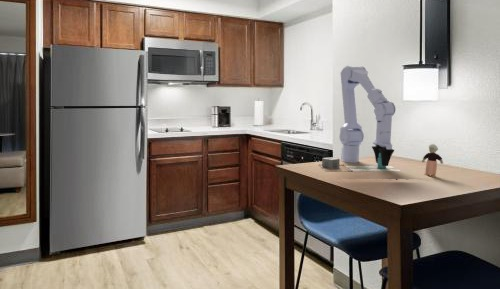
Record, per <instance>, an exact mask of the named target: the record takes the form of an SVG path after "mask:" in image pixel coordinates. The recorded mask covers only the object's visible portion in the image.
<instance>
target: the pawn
mask: <svg viewBox="0 0 500 289" xmlns="http://www.w3.org/2000/svg"><path fill="white" fill-rule="evenodd" d="M376 166H377V168H378V169H386V166H382V159H381V153H379V157H378V163H377V165H376Z"/></svg>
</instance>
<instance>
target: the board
mask: <svg viewBox="0 0 500 289" xmlns="http://www.w3.org/2000/svg"><path fill="white" fill-rule="evenodd" d="M318 166H319V167H320V168H321V169H323V170H324V171H325V172H341V169H340V170H334V169H333V170H332V169H331V170H327V168H325V167H322V164H318ZM341 166H345V167H346V168H347V169H349V171H351V172H356V171H357V172H371V171H372V172H401V170H400V169H399V168H396V167H394V166H392V165H388V166H386V169H378V168H377V165H345V164H339V167H341Z"/></svg>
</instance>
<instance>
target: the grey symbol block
mask: <svg viewBox="0 0 500 289" xmlns="http://www.w3.org/2000/svg"><path fill="white" fill-rule="evenodd" d="M340 161H341V160H340V158H338V157H337V158H336V157H332V156H331V157H322V160H321V166H322V167H323V168H325V169H331V170H332V169H337V168H338V169H339V168H340V166H339V165H340Z"/></svg>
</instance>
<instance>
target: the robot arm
mask: <svg viewBox="0 0 500 289" xmlns="http://www.w3.org/2000/svg"><path fill="white" fill-rule="evenodd" d="M368 74H369V72H368V71H367V69H366V68H365V67H364V66H352V65H351V66H350V65H345V66H344V67H343V68H342V70H341V72H340V82H341V93H342V95H341V96H342V106H343V116H344V118H343V119H344V124H343V125H342V126H340V128H339V129H340V133H339V141H340V143H341V144H342V147H341V154H340V155H341V160H340V161H342V162H344V163H359V161H360V145H362V142H363V141H364V139H365V135H364V132H363V129H362V126H361V125H360V124H359V123H358V121H357V120H358V118H357V108H356V98H355V88H356V87H357V86H359V85H361V86H362V88H363V89H364V90H365V92H366V93H367V99H368V101H369V102H370V103H371V105H372V106H373V108H374V109H373V113H374V115H375V120H376V132H375V140H374V141H373V142H372V144H373V146H371V148H372V150H373V153H374V156H375V157H374V158H375V162H376V163H377V164H378V157H379V153H381V159H382V166H389V164H390V160H391V158H392V156H393V153H395V149H393V144H392V143H391V142H392V141H391V138H392V137H391V136H392V120H393V119H392V118H393V116H394V115H395V113H396V105H395V104H394V102H392V101H389V100H388V99H387V98H386V96H385V95H384V94H383V91H382V90H381V89H380V88H376V87H375V86H374V84H373V83H372V81H371V79H370V78H369V76H368Z"/></svg>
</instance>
